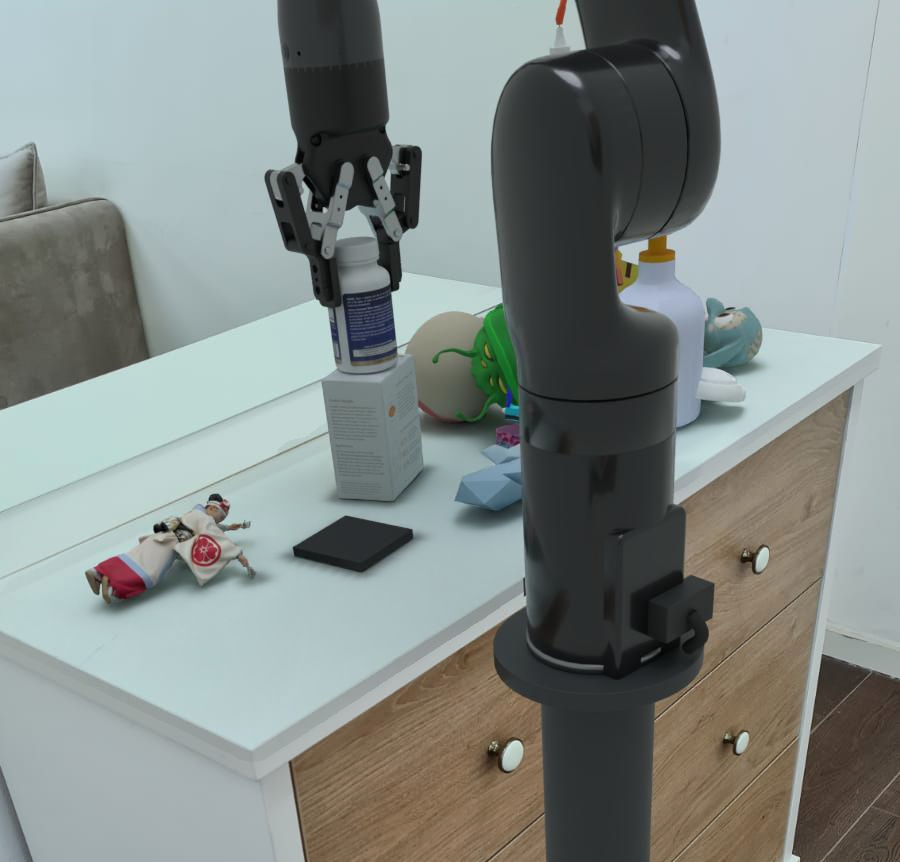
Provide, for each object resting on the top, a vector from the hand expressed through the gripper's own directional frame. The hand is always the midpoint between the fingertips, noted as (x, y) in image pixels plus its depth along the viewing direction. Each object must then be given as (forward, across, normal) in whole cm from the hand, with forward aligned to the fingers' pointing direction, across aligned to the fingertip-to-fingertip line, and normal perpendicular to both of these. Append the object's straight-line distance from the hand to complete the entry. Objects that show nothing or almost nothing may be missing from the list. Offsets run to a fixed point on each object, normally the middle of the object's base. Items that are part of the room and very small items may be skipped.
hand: (360, 297), depth 96 cm
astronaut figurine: (+15, +34, -3) cm, 38 cm away
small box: (+16, 0, 0) cm, 16 cm away
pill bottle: (+6, 0, 0) cm, 6 cm away
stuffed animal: (+16, +44, -1) cm, 47 cm away
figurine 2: (+11, +16, +2) cm, 20 cm away
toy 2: (+7, +17, +4) cm, 19 cm away
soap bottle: (+16, +28, -8) cm, 33 cm away
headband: (+17, +16, -6) cm, 24 cm away
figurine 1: (+16, -22, -4) cm, 28 cm away
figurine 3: (+12, +9, -6) cm, 16 cm away
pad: (+16, -10, -9) cm, 21 cm away
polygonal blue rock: (+16, +5, -12) cm, 21 cm away
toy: (+8, +31, +6) cm, 33 cm away
